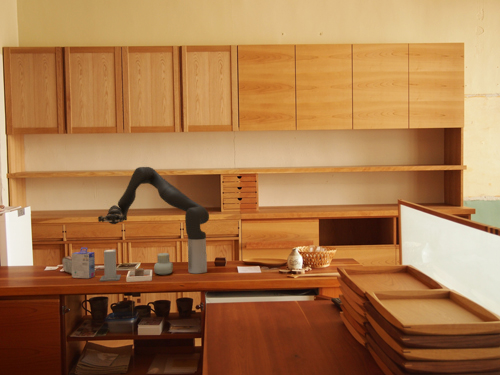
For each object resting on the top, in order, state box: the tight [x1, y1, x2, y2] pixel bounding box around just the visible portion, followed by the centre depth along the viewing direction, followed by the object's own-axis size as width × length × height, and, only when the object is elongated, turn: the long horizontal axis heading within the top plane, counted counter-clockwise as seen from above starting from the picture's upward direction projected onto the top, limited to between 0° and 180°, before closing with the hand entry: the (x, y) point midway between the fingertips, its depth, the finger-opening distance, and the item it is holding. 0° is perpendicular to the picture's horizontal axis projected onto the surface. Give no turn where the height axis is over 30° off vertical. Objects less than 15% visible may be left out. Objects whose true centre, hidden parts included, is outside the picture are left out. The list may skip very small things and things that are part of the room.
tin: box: [61, 255, 72, 275], centre depth 235 cm, size 15×3×8 cm, turn 47°
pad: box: [99, 274, 122, 282], centre depth 223 cm, size 9×9×1 cm
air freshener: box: [153, 252, 174, 276], centre depth 231 cm, size 11×8×10 cm
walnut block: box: [134, 267, 145, 276], centre depth 220 cm, size 4×4×5 cm
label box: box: [103, 249, 117, 279], centre depth 222 cm, size 5×5×13 cm
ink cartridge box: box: [71, 246, 96, 279], centre depth 226 cm, size 10×6×14 cm, turn 79°
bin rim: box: [125, 269, 153, 283], centre depth 224 cm, size 12×13×2 cm
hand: (111, 219), depth 233 cm, fingers open, 8 cm apart
